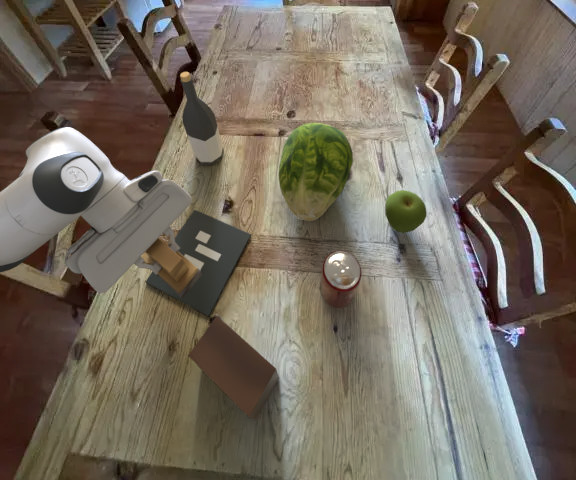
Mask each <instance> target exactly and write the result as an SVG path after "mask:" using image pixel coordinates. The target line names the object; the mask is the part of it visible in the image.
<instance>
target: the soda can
mask: <svg viewBox="0 0 576 480" xmlns="http://www.w3.org/2000/svg"><path fill="white" fill-rule="evenodd" d="M321 268H322V269H321V276H320V277H321V278H320V285H319V290H320V295H321V297H322V299H323V301H325V303H326V304H327V305H328V306H330V307H331V308H334V309H345V308H347V307H348V306H350V305H351V304H352V302H353V301H354V299H355V297H356V294H357V291H358V288H359V286H360V283H361V280H362V274H363V271H362V266H361V264H360V261H359V260H358V259H357V257H356V256H355V255H354V254H353V253H350V252H349V251H346V250H343V249H342V250H339V249H338V250H334V251H332V252H330V253H329V254H327V255H326V257H325V258H324V260H323V263H322V267H321Z"/></svg>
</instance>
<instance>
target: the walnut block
mask: <svg viewBox="0 0 576 480" xmlns="http://www.w3.org/2000/svg"><path fill="white" fill-rule="evenodd" d="M187 356H188V358H189V359H190V360H191V361H193V362H194V363H195V365H196V366H197V367H198V368H199V369H200V370H202V372H203V373H204V374H205V375H206V376H207V377H208V378H209V379H210V380H211V381H212V382H213V383H214V384H215V385H216V386H217V388H219V389H220V390H221V391H222V392H223V393H224V394H225V395H226V396H227V397H228V398H229V399H230V400H231V401H232V402H233V403H234V404H235V405H236V406H237V407H238V409H240V410H241V411H242V412H243V413H244V414H245V416H247V417H248V418H249V419H252V420H253V421H256V422H257V420H258V419H259V416H260V414H261V413H262V411H263V409H264V407H265V405H266V403H268V400H269V398H270V396H271V395H272V393H273V391H274V389H275V387H276V386H277V384H278V382H279V380H280V375H279V373H278V369H277V368H276V367H275V365H273V364H272V363H270V361H268V359H266V358H265V357H264V356H263V355H262V354H261V353H260V352H258V351H257V350H256V349H255V348H254V347H253V346H251V345H250V343H248V341H246V340H245V339H244V338H243V337H242V336H240V334H238V333H237V332H236V331H235V330H234V329H233V328H232V327H231V326H229V325H228V324H227V323H226V322H225V321H224V320H223V319H221V318H220V317H219V316H218V315H216V316H215V318H214V319H213V320H212V322H211V323H210V325H209V326H208V327H207V328H206V330H205V331H204V333H203V334H202V336H201V337H200V338H199V339H198V341H197V342H196V344H195V345H194V347H193V348H192V349H191V351H190V352H189V354H188V355H187Z"/></svg>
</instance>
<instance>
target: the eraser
mask: <svg viewBox="0 0 576 480" xmlns="http://www.w3.org/2000/svg"><path fill="white" fill-rule="evenodd" d="M168 244H169V241H167V240H165V239H164V238H163V237H162V236H160V237H159V238H158V239H157V240H156V241H155V242H154V243H153V244H152V245H151V246H150V247H149V248H148V249H147V250H146V251H145V252H144V253H143V255H142V256H141V257H142V258H143V259H144V263H150V264H151V263H152V262H153V261H154V260H155V261H156V262H157V263H158V264H159V265H160V266H161V267H162V269H161V270H160V272H159V273H158V274H157V276H158V277H159V278H160V279H161V280H162V281H163V282H164V283H166V284H167V285H168V286H169V287H170V288H171V289H172V290H173V291H174V292H175V293H176V294H177V295H179V296H180V297H181V298H182V299H183V297H184V296H185V295H186V294H187V292H188V291H189V290H190V289H191V288H192V286H193V285H194V284H195V283H196V281H197V280H198V279H199V278H200V276H201V275H202V274H203V273H202V272H201V270H200V269H199V268H197V267H196V266H195V265H194V264H193V263H192V262H190V261H189V260H188V259H187V258H186V257H184V256H183V255H182V254H181V253H180V252H179V251H178V252H177V253H175V252H174V251H173V250H172V249H170V248H169V247H168Z"/></svg>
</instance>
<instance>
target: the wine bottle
mask: <svg viewBox="0 0 576 480" xmlns="http://www.w3.org/2000/svg"><path fill="white" fill-rule="evenodd" d="M179 77H180V83H181V86H182V89H183V92H184V94H185V95H184V96H185V98H186V102H185V104H184V108H183V112H182V125H183V127H184V131H185V133H186V136H187V138H188V141H189V144H190V146H191V149H192V153H193V155H194V157H195V159H196V160H197V161H198V162H199V164H200V165H202V166H214V165H215V164H216V163H218V162H220V161H221V160H222V159H223V155H224V145H223V142H222V138H221V133H220V130H219V126H218V122H217V118H216V114H215V113H214V111H213V110H212V107H210V106H209V105H208V104H207V103H206V102H205V101H204V100H203V99H201V98H200V97H198V94H197V91H196V88H195V87H196V86H195V84H194V81H193V77H192V76H191V74H190V72H188V71H183V72H181V73H180V75H179Z"/></svg>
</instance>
